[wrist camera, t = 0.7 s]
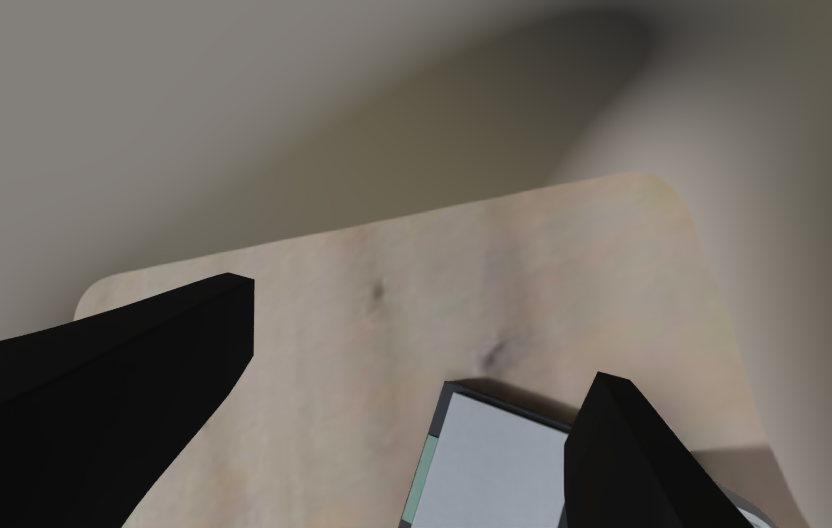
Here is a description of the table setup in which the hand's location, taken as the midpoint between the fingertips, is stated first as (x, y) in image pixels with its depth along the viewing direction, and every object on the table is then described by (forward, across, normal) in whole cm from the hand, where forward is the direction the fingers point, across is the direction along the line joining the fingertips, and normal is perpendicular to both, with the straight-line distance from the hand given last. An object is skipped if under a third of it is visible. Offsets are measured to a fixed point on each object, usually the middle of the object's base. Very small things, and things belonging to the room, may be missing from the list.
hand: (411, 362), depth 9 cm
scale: (+16, -7, +23) cm, 29 cm away
